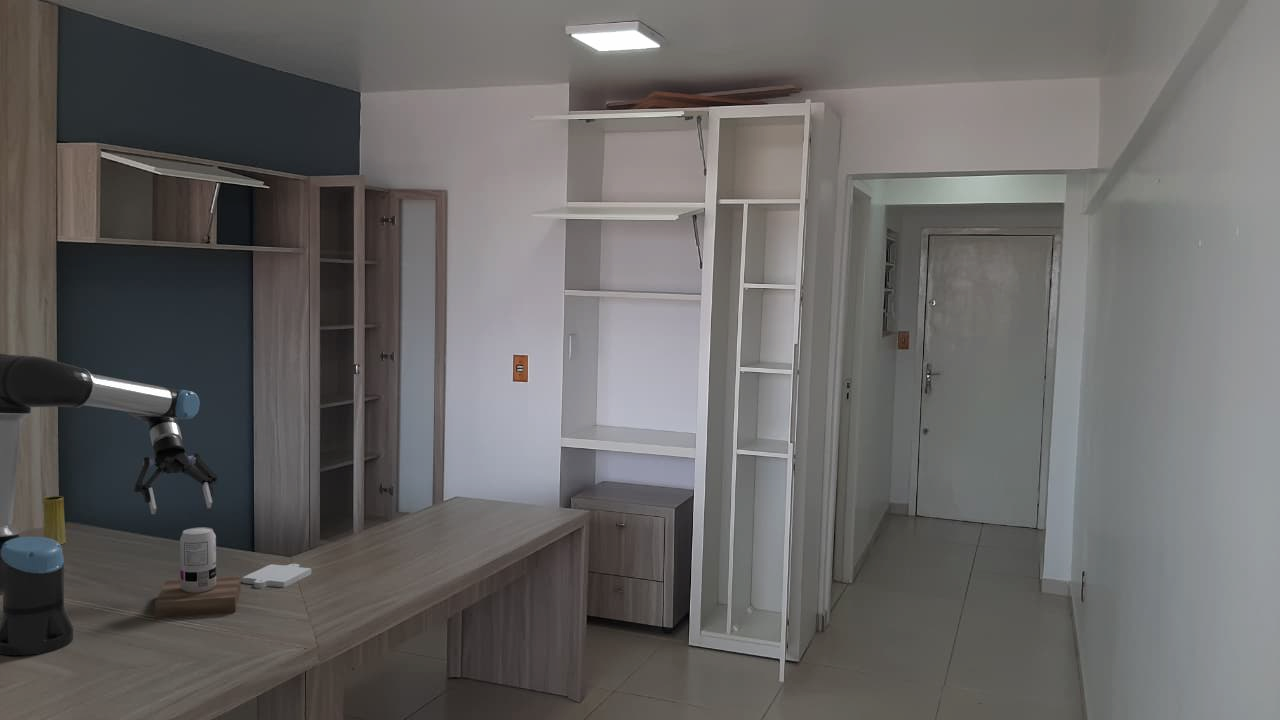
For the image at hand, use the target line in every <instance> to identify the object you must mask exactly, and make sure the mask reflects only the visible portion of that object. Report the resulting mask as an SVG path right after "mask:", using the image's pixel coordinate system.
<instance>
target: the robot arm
mask: <svg viewBox="0 0 1280 720" xmlns="http://www.w3.org/2000/svg"><path fill="white" fill-rule="evenodd" d="M82 406H88V407H94V408H102V409H106V410H107V409H108V410H116V411H121V412H124V413H127V414H129V415H130V416H132V417H135V418H136V419H138V420H139V421H141V422H143V423H145V424H146V425H147V429H148V431H149V436H150V441H151V445H152V452H153V456H154V458H149V457H148V456H145V457H144V458H143V461H142V468H141V471H140V474H139V476H138V478H137V480H136V483H135V486H134V488H133V491H134V492H135V493H139V492H140V493H141V495H143V501H144V502H145V503H148V504H149V509H150V514H151V515H156V513H157V504H156V500H155V495H154V494H155V493H154V490H153V485H154V484H156V482H157V481H158V480H159V478H161V477H162V475H163V474H164V473H165V474H166V475H170V474H180V472H181V473H182V474H184V475H188V477H190V478H192V479H194V480H195V481H196V482H198V483H199V484H201V485H202V491H203V496H204V500H205V503H206V509H211V508H212V506H213V505H212V504H213V499H212V496H213V494H214V487H213V485H216V484H217V481H218V479H219V477H218V476H217V474H216V473H215V472H213V470H212V469H211V468H210V467H209V466H208V465H207V464H206V463H205V462H204V461H203V460H202V459H201V457H200V454H199V452H195V453H194V454H193V455H189V456H188V455H187V452H186V449H185V445H184V442H183V437H182V432H181V429H180V425H179V421H178V420H189V419H193V418H194V417H195V416H196V415H197V414H198V412H199V410H200V406H201V405H200V398H199V396H198V395H197V393H196V392H194V391H190V390H187V389H174V388H170V387H169V388H168V387H163V386H158V385H152V384H148V383H142V382H137V381H130V380H127V379H121V378H116V377H110V376H105V375H100V374H93V373H91V372H90V371H89V369H86V368H85V367H80V366H76V365H75V366H74V365H72V364H67V363H64V362H60V361H57V360H53V359H49V358H45V357H41V356H33V355H29V356H28V355H17V354H5V353H0V596H2V616H1V620H0V655H2V654H4V655H3V656H9V655H13V656H12V657H14V656H15V655H23V656H31V655H32V656H33V655H38V654H42V653H43V654H45V653H49V652H51V651H54V650H58V649H60V648H63V647H65V646H67V645H69V644H70V643H71V642H72V641H73V640H74V627H73V625H72V622H71V620H70V618H69V615H68V612H67V610H66V607H65V602H64V600H65V599H64V595H65V592H64V591H65V590H64V588H65V582H64V579H65V578H64V577H65V575H64V574H65V573H64V572H65V571H64V570H65V568H64V565H65V563H64V562H65V559H64V555H63V547H62V545H60V544H59V543H58V542H57V541H55V540H53V539H50V538H46V537H44V536H29V535H28V536H20V530H18V529H17V528H16V526H14V525H13V521H14V510H15V509H14V508H15V500H16V499H15V497H16V487H17V477H18V465H19V464H18V463H19V455H20V444H21V434H22V433H21V432H22V424H23V421H24V420H25V419H26V418H27V417H29V416H30V415H31V411H32V410H31V409H32V408H50V407H52V408H56V407H59V408H61V407H63V408H72V409H76V408H77V409H78V408H80V407H82ZM189 462H190V463H189ZM153 465H154V466H156V467H157V469H156V470H155V471H154V473H152V474H151V476H150V477H149V478H148V479H147V481H145V479H146V478H145V477H146V476H147V474H148V470H149V469H150V468H151V467H152V466H153ZM192 465H194V466H195V467H194V466H192ZM144 481H145V483H144ZM143 483H144V484H143ZM15 657H16V656H15Z"/></svg>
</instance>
